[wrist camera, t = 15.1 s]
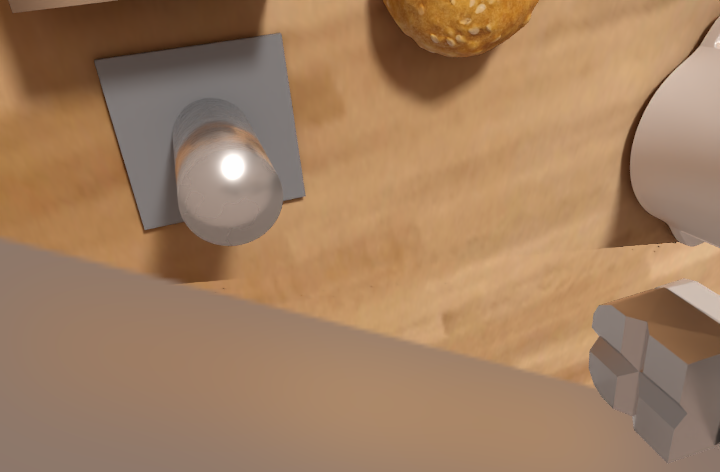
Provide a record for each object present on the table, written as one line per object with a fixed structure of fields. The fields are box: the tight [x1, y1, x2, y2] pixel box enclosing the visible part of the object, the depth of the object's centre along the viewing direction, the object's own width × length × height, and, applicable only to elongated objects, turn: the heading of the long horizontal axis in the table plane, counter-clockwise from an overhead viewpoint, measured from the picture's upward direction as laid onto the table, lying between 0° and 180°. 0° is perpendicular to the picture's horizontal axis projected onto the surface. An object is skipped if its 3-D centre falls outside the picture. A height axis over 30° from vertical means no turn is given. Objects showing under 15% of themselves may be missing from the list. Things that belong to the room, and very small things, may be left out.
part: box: [172, 98, 283, 246], centre depth 30 cm, size 4×4×10 cm
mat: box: [94, 33, 305, 230], centre depth 34 cm, size 10×10×1 cm
